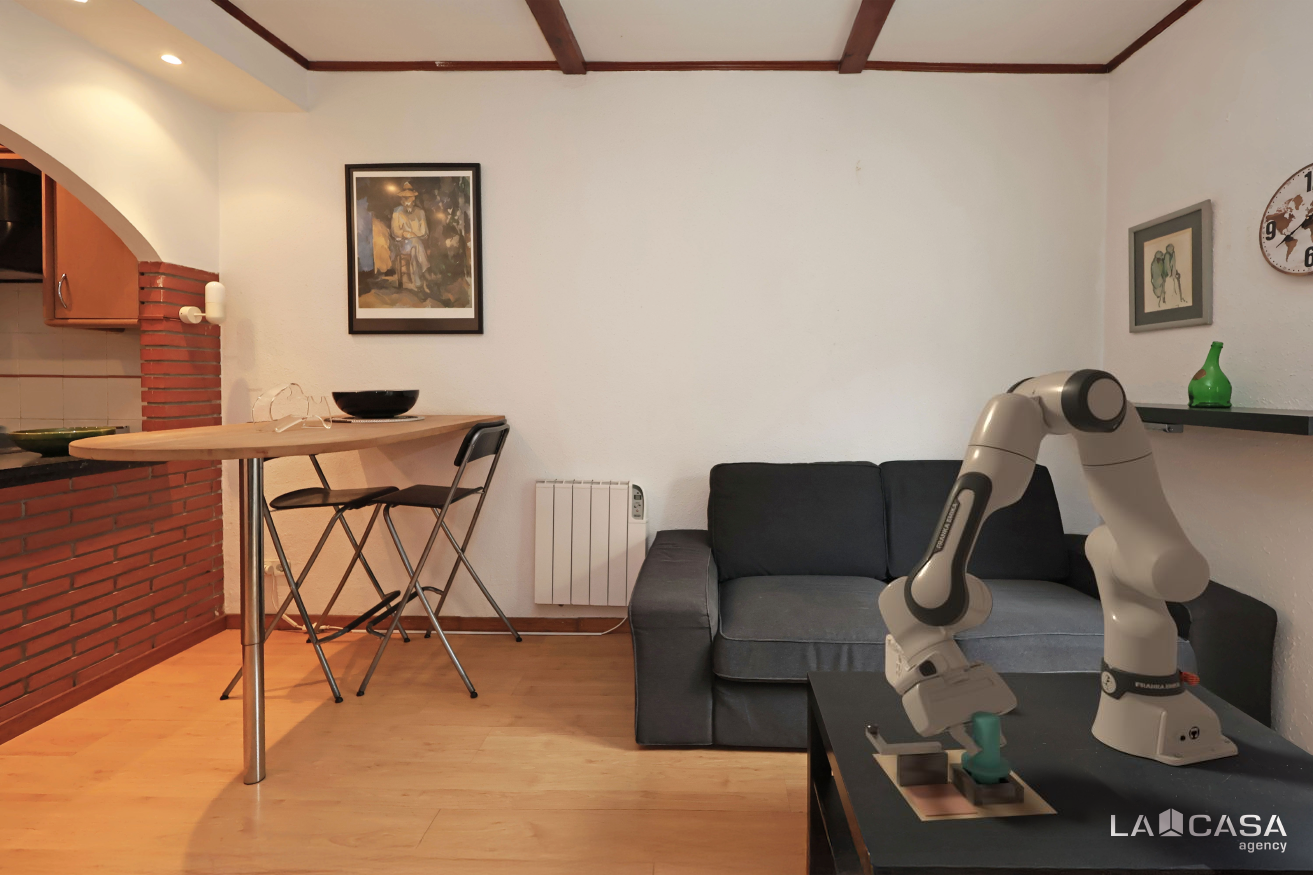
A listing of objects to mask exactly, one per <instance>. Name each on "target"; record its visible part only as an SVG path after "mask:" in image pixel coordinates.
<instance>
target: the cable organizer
mask: <svg viewBox="0 0 1313 875" xmlns="http://www.w3.org/2000/svg"><path fill="white" fill-rule="evenodd" d="M884 669H885V672H884V673H885V677H886V680H887V681H888V683H889V684H890V685H891V687H893V688H894V689H895V687H894V685H895V683H896V682H897V681H898V680H899V679H900V678H901V677H902V676H903V675H905V674H906V673H907V671H908V670H909V669H910V667H909V665H908V663H907V661H906V657H905V654H904V652H903V650H902V648H901V647H900V646H899V645H898V644H897V643H896V642H895V640H894V639H893V637H892V635H891V633H890V634H887V635H886V636H885V668H884Z"/></svg>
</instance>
